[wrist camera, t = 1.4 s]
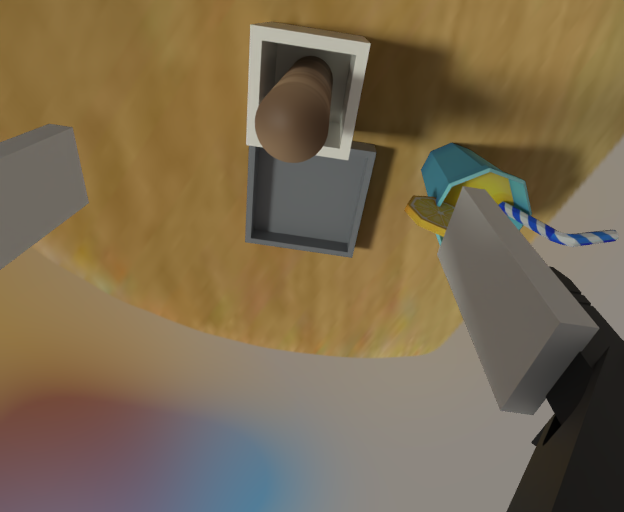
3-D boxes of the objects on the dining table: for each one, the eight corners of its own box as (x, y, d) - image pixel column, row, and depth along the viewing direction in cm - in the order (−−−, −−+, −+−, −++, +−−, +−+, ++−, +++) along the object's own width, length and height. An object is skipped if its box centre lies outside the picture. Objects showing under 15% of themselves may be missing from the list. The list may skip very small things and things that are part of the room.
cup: (538, 126, 35) (648, 188, 23) (519, 201, 40) (603, 288, 27) (389, 132, 37) (415, 195, 24) (385, 205, 41) (406, 291, 28)
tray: (254, 126, 37) (249, 133, 35) (374, 144, 37) (376, 152, 35) (249, 231, 44) (245, 242, 41) (351, 245, 44) (351, 257, 42)
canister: (271, 21, 32) (250, 24, 25) (363, 36, 32) (370, 43, 25) (265, 117, 36) (246, 145, 29) (346, 129, 37) (348, 160, 29)
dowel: (290, 52, 32) (256, 80, 19) (336, 59, 32) (334, 93, 19) (286, 101, 35) (253, 157, 21) (329, 107, 35) (322, 167, 21)
